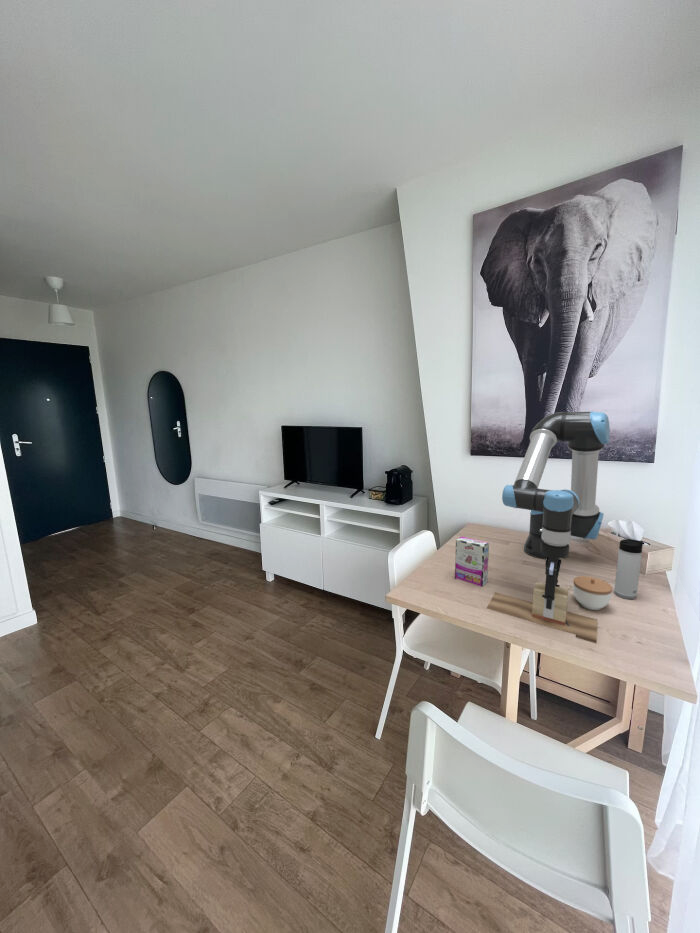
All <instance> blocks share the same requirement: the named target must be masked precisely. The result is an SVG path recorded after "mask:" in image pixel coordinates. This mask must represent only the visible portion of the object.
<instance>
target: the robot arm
mask: <svg viewBox="0 0 700 933" xmlns="http://www.w3.org/2000/svg"><path fill="white" fill-rule="evenodd" d="M610 428H611V427H610V419H609V416H608V414H606V413H605V412H602V411H598V412H597V411H593V410H592V411H566V412H565V411H558V412H553V413H551V414H549V415H547V416H545V417H544V418H542V419H541V420H540V421H539V422H537V423H536V425H534V427H533V428H532V431H531V432H530V435H529V441H530V442H529V445H528V447H527V450H526V452H525V454H524V458H523V460H522V462H521V466H520V467H519V470H518V472H517V476H516V478H515V481H514V483H513V484H507V485H506V486H504V487H503V489H502V495H501V496H502V497H501V499H502V504H503V505H504V506H506V507H510V508H513V509H521V510H529V511H530V512H529V515H530V518H529V534H528V536H527V538H526V540H525V542H524V544H523V551H524V552H525V553H526V554H527V555H530V557H535V558H537V559H543V560H545V582H544V584H545V595H542V597H544V611H543V616H544V617H547V618H551V619H553V616H554V604H555V597H554V596H555V586H557V587H561V585H560V584H558V583H559V578H558V577H559V575H560V574H559V572H560V570H561V564H562V559H566V558H568V557H569V553H570V543H571V537H576V538H580V539H581V538H582V539H588V540H596V539H597V538H598V536H599V533H600V529H601V526H602V521H603V518H604V516H605V515H604V513H603V512H602V511H600V507H599V506H598V504H596V500H597V498H596V497H597V485H598V468H599V454H600V451H602V450H603V449H604V448H605V445H608V444H609V443H610V438H611V436H610V435H611V434H610V432H611V429H610ZM557 443H567V448H568V449H569V450H570V451H572V453H571V475H570V477H571V481H570V489H565V488H564V489H560V490H559V489H544V488H539V486H540V483H541V481H542V477H543V474H544V470H545V469H546V465H547V462H548V459H549V457H550V454H551V450H552V448H553V447H555V446H556V444H557Z"/></svg>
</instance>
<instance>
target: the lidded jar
mask: <svg viewBox="0 0 700 933" xmlns="http://www.w3.org/2000/svg"><path fill="white" fill-rule="evenodd" d="M572 580H573V581H572V583H573V584H572V585H573V586H572V587H573V590H572V591H573V594H574V598H575V599H576V601H577V602H578V603H579V605H580V606H582V607H583V608H585V609H587V610H591V611H599V610H602V608H605V607H606V606H608V604H609V602H610V601H611V597H612V592H613V587H612V585H611V584H610V583H608V582H607V581H605V580H603V579H600V578H597V577H593V576H586V575H585V576H584V575H581V576H580V575H579V576H576V577H574V578H573V579H572Z"/></svg>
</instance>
